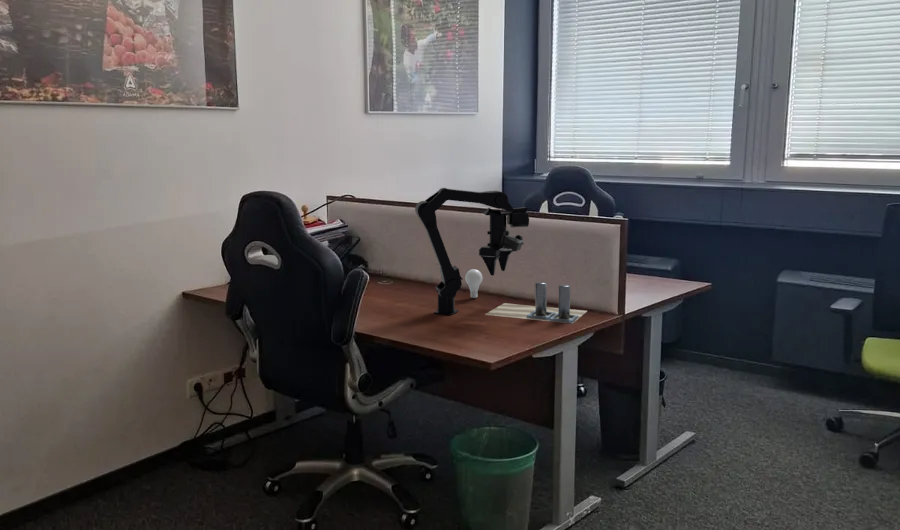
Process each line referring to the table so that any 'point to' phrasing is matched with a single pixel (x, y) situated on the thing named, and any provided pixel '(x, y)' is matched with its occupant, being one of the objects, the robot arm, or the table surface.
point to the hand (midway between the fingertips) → (497, 273)
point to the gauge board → (533, 313)
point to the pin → (540, 299)
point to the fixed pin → (564, 302)
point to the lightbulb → (473, 281)
